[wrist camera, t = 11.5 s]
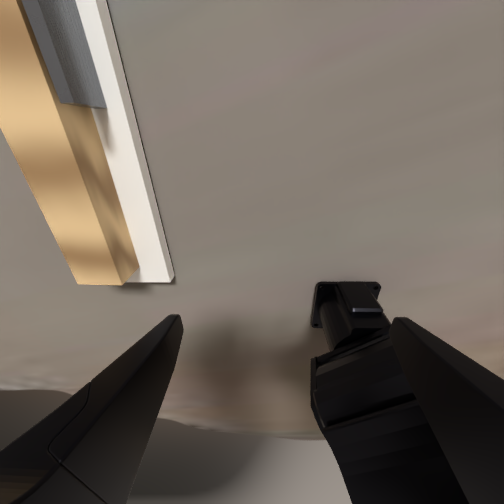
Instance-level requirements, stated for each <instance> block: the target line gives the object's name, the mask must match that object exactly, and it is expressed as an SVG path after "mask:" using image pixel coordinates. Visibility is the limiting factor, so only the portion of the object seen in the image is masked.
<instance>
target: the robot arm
mask: <svg viewBox="0 0 504 504" xmlns="http://www.w3.org/2000/svg"><path fill="white" fill-rule="evenodd" d="M321 286H323V287H321ZM375 286H376V287H375ZM380 289H381V286H380V284H379V283H378V282H319V283H317V285H316V292H315V299H314V306H313V313H312V320H311V324H312V327H314V328H323V330H324V333H325V336H326V340H327V343H328V346H329V349H330V352H328V353H326V354H323V355H321V356H319V357H314V358H312V359H311V391H310V396H311V408H312V411H313V413H314V417H315V419H316V421H317V423H318V426H319V428H320V430H321V432H322V433H323V435H324V437H325V438H326V440H327V442H328V443H329V445H330V447H331V449H332V451H333V454H334V456H335V458H336V460H337V463H338V465H339V468H340V470H341V473H342V475H343V478H344V481H345V484H346V487H347V490H348V493H349V495H350V499H351V501H352V504H504V380H503V379H502V378H500V377H498V376H497V375H495V374H494V373H492V372H491V371H489V370H488V369H486V368H484V367H483V366H481V365H480V364H478V363H477V362H475V361H474V360H472V359H471V358H469V357H467V356H466V355H464V354H463V353H461V352H460V351H458V350H457V349H455V348H454V347H452V346H450V345H449V344H447V343H446V342H444V341H443V340H441V339H440V338H438V337H436V336H435V335H433V334H432V333H430V332H429V331H427V330H426V329H424V328H423V327H421V326H419V325H418V324H416V323H415V322H413V321H412V320H410V319H409V318H406V317H395V318H394V320H393V322H392V324H391V323H390V322H389V320H388V319H387V317H386V316H385V314H384V313H383V309H382V307H381V306H380V304H379V303H378V301H377V298H378V295H379V292H380ZM316 323H317V324H316ZM182 336H183V324H182V321H181V317H180V315H178V314H171V315H169V316H167V317H166V318H165V319H164V320H163V321H161V322H160V323H159V324H158V325H157V326H155V327H154V328H153V329H152V330H151V331H149V332H148V333H147V334H146V335H145V336H143V337H142V338H141V339H140V340H139V341H138V342H136V343H135V344H134V345H133V346H132V347H130V348H129V349H128V350H127V351H126V352H124V353H123V354H122V355H121V356H120V357H118V358H117V359H116V360H115V361H114V362H113V363H111V364H110V365H109V366H108V367H107V368H105V369H104V370H103V371H102V372H101V373H99V374H98V375H97V376H96V377H95V378H93V379H92V380H91V382H89V383H87V384H86V385H85V386H84V387H83V388H81V389H80V390H79V391H78V392H77V393H75V394H74V395H73V396H72V397H70V398H69V399H68V400H67V401H66V402H64V403H63V404H62V405H61V406H59V407H58V408H57V409H55V410H54V411H53V412H52V413H50V414H49V415H48V416H46V417H45V418H44V419H42V420H41V421H40V422H38V423H37V424H36V425H34V426H33V427H32V428H30V429H29V430H28V431H26V432H25V433H24V434H22V435H21V436H20V437H18V438H17V439H16V440H14V441H13V442H12V443H10V444H9V445H8V446H6V447H5V448H4V449H2V450H1V451H0V504H126V502H127V499H128V496H129V494H130V491H131V488H132V485H133V482H134V480H135V477H136V474H137V471H138V468H139V466H140V463H141V460H142V457H143V455H144V452H145V449H146V446H147V443H148V441H149V438H150V435H151V432H152V430H153V427H154V424H155V421H156V418H157V416H158V413H159V410H160V407H161V405H162V402H163V399H164V396H165V393H166V391H167V388H168V385H169V382H170V380H171V377H172V374H173V371H174V368H175V364H176V360H177V356H178V352H179V348H180V344H181V340H182Z"/></svg>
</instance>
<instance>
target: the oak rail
mask: <svg viewBox="0 0 504 504" xmlns="http://www.w3.org/2000/svg"><path fill="white" fill-rule="evenodd" d="M0 128H1V130H2V132H3V134H4V136H5V138H6V140H7V142H8V144H9V146H10V148H11V150H12V152H13V154H14V156H15V158H16V160H17V162H18V164H19V166H20V168H21V170H22V172H23V174H24V176H25V178H26V180H27V182H28V184H29V186H30V188H31V190H32V192H33V194H34V196H35V198H36V200H37V202H38V204H39V206H40V208H41V210H42V212H43V214H44V216H45V219H46V221H47V223H48V225H49V227H50V229H51V231H52V233H53V235H54V237H55V239H56V241H57V243H58V245H59V247H60V249H61V251H62V253H63V255H64V257H65V259H66V261H67V263H68V265H69V267H70V269H71V271H72V273H73V275H74V277H75V279H76V281H77V283H78V284H92V285H123V284H124V283H125V282H126V281H127V280H128V279H129V278H130V276H131V275H132V274H133V273H134V272H135V271H136V270H137V269H138V268H139V267H140V266H139V263H138V259H137V256H136V253H135V250H134V246H133V243H132V240H131V237H130V233H129V230H128V227H127V224H126V220H125V217H124V214H123V211H122V207H121V204H120V201H119V198H118V194H117V191H116V188H115V185H114V181H113V178H112V175H111V172H110V168H109V165H108V162H107V159H106V155H105V152H104V149H103V146H102V142H101V139H100V136H99V133H98V129H97V126H96V123H95V120H94V116H93V113H92V110H91V108H88V107H81V106H75V105H69V104H62V103H60V100H59V98H58V95H57V92H56V90H55V87H54V84H53V82H52V79H51V77H50V74H49V71H48V69H47V66H46V63H45V61H44V58H43V56H42V53H41V50H40V48H39V45H38V42H37V40H36V37H35V35H34V32H33V29H32V27H31V24H30V21H29V19H28V16H27V14H26V11H25V8H24V6H23V3H22V0H0Z"/></svg>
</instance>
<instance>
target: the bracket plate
mask: <svg viewBox="0 0 504 504" xmlns="http://www.w3.org/2000/svg"><path fill="white" fill-rule="evenodd" d="M22 3H23V6H24V8H25V11H26V14H27V16H28V19H29V21H30V24H31V27H32V29H33V32H34V35H35V37H36V40H37V42H38V45H39V48H40V50H41V53H42V56H43V58H44V61H45V63H46V66H47V69H48V71H49V74H50V77H51V79H52V82H53V84H54V87H55V90H56V92H57V95H58V98H59V100H60V103H62V104H69V105H75V106H81V107H88V108H91V110H92V113H93V116H94V120H95V123H96V126H97V129H98V133H99V136H100V139H101V142H102V146H103V149H104V152H105V155H106V159H107V162H108V165H109V168H110V172H111V175H112V178H113V181H114V185H115V188H116V191H117V194H118V198H119V201H120V204H121V207H122V211H123V214H124V217H125V220H126V224H127V227H128V230H129V233H130V237H131V240H132V243H133V246H134V250H135V253H136V256H137V259H138V263H139V266H140V267H139V268H138V269H137V270H136V271H135V272H134V273H133V274H132V275H131V276H130V278H129V279H128V280H127V281H126V282H171V281H172V279H173V277H174V276H175V275H174V271H173V267H172V263H171V259H170V255H169V251H168V247H167V243H166V239H165V235H164V231H163V227H162V223H161V219H160V215H159V211H158V207H157V203H156V199H155V195H154V191H153V187H152V183H151V179H150V175H149V171H148V167H147V163H146V159H145V155H144V151H143V147H142V143H141V139H140V135H139V131H138V126H137V122H136V118H135V114H134V110H133V106H132V102H131V98H130V94H129V90H128V86H127V82H126V78H125V74H124V70H123V66H122V62H121V58H120V54H119V50H118V46H117V42H116V38H115V34H114V30H113V26H112V22H111V18H110V14H109V10H108V6H107V2H106V0H22Z"/></svg>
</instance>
